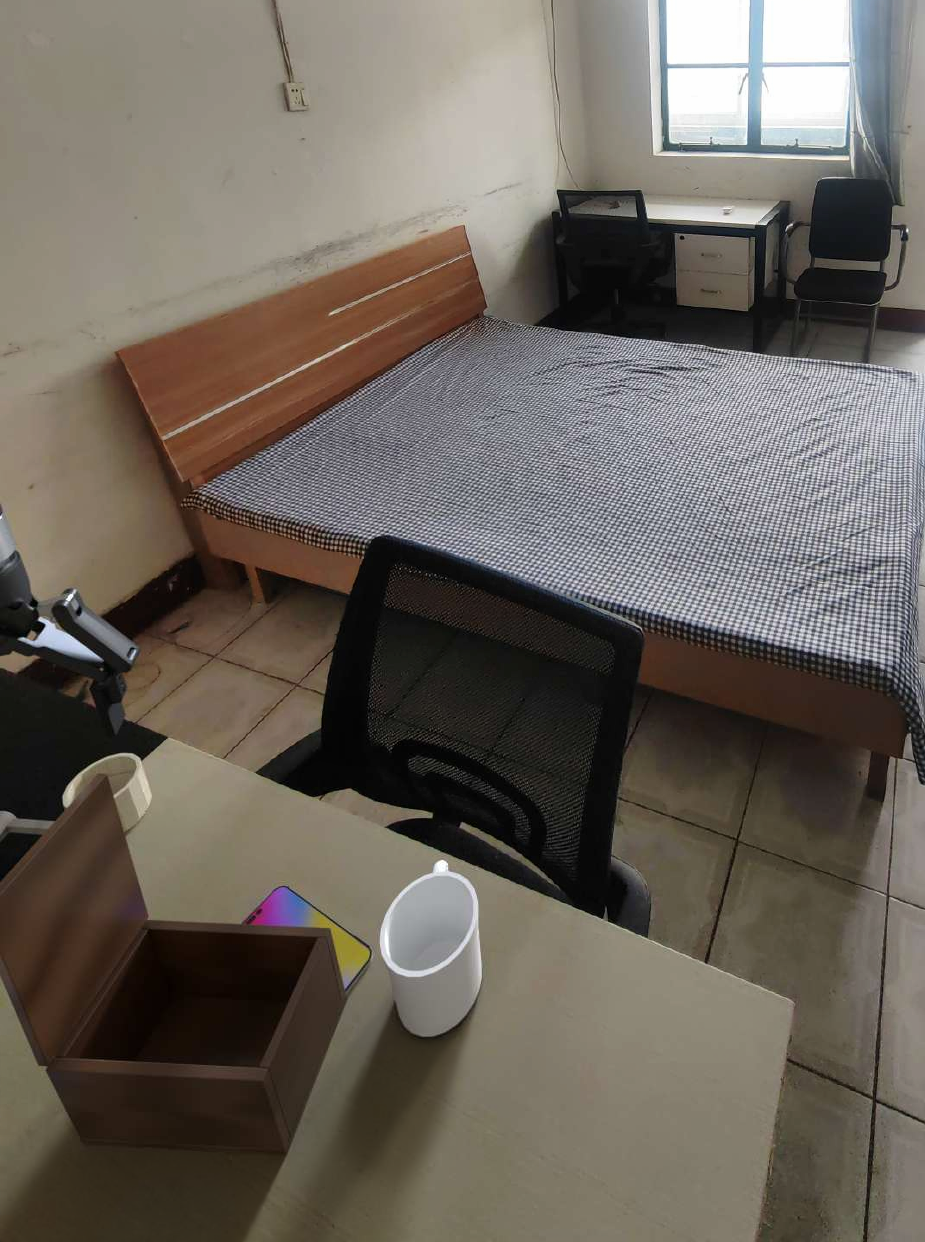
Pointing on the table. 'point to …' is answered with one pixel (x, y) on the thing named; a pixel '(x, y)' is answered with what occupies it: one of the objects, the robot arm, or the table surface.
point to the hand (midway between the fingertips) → (34, 746)
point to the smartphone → (299, 912)
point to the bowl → (117, 786)
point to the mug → (433, 952)
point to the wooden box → (203, 1038)
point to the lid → (66, 915)
